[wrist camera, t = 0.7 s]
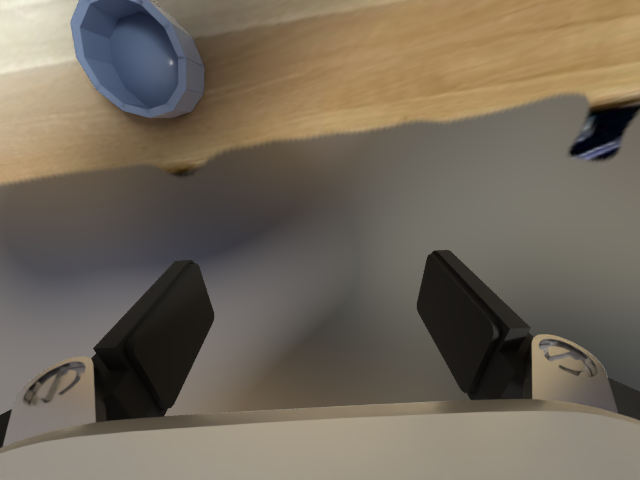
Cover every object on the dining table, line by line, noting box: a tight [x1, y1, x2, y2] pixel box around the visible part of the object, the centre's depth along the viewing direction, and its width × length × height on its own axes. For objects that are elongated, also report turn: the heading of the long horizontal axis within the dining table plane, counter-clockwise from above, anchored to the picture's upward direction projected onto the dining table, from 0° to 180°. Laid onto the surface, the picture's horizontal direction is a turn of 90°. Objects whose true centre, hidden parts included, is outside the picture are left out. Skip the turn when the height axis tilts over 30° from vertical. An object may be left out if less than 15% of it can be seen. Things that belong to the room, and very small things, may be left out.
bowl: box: [70, 0, 205, 118], centre depth 27 cm, size 11×11×5 cm
